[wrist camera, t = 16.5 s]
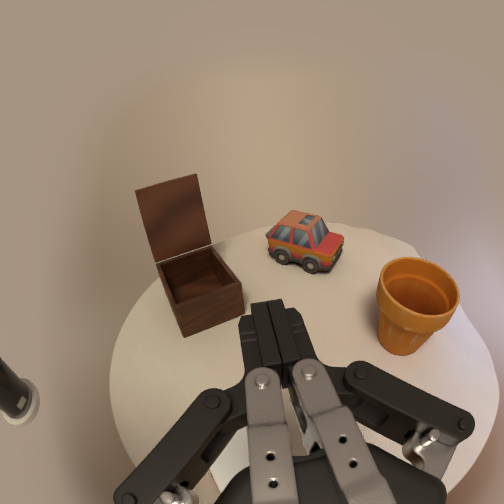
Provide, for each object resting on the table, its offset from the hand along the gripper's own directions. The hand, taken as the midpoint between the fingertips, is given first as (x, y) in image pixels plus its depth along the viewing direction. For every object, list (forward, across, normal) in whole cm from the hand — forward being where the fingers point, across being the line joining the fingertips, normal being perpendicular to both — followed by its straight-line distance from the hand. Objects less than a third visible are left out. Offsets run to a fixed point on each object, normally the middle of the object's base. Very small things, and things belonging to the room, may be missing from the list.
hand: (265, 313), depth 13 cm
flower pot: (+14, -26, +29) cm, 41 cm away
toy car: (+43, -16, +29) cm, 54 cm away
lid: (+40, +11, +13) cm, 43 cm away
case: (+32, +9, +28) cm, 44 cm away
